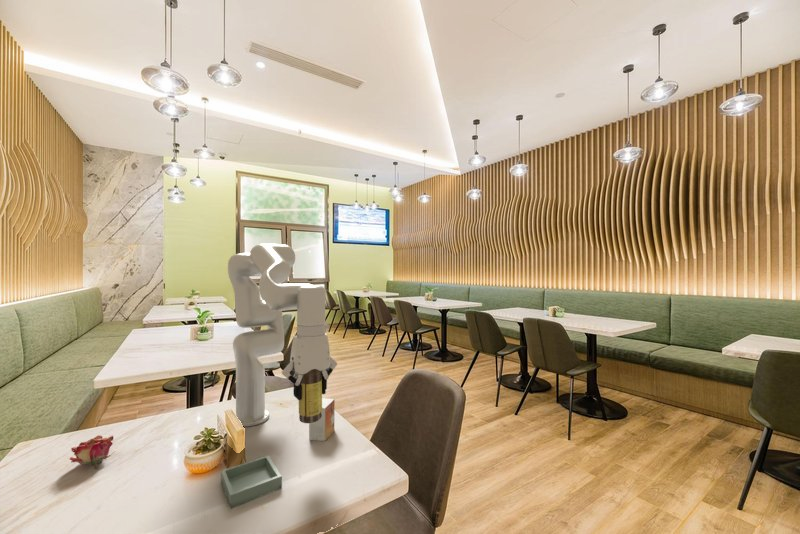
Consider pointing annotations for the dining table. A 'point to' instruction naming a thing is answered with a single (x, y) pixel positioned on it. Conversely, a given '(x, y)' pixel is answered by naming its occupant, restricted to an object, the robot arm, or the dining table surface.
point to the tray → (250, 480)
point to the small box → (323, 422)
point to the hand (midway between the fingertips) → (310, 394)
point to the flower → (92, 451)
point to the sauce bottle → (311, 397)
